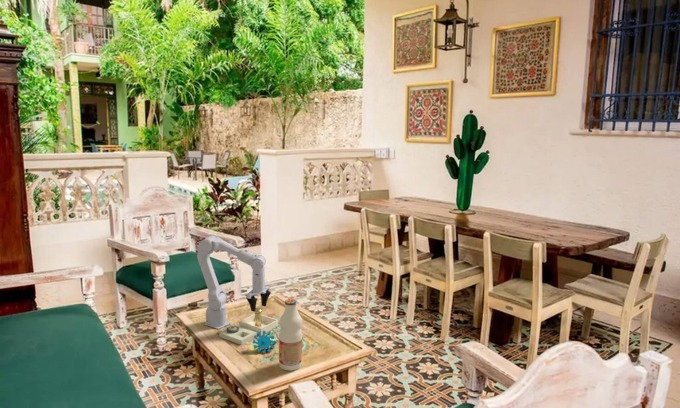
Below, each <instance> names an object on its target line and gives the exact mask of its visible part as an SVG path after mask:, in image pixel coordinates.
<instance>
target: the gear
mask: <svg viewBox="0 0 680 408" xmlns="http://www.w3.org/2000/svg"><path fill="white" fill-rule="evenodd" d="M265 333H266V331H263V335H262V336H261V335H260V334H261V332H258V333H257V335H255V336H254V338H253V339H252V344H254V345H253V349H257V350H256V351H257V353H260V352H261V351H262V352H261V353H262V354H266V352H267V353H271V349H272V350H273V349H275V345H276V344H278V343H279V339H276V340H275V336H274V335H272V336H271V334H272V333H271V331H269V332H267V333H266V335H265ZM270 347H271V348H270ZM262 349H263V350H262ZM266 349H267V351H266Z"/></svg>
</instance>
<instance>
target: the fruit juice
mask: <svg viewBox="0 0 680 408" xmlns="http://www.w3.org/2000/svg"><path fill="white" fill-rule="evenodd" d="M297 305H298V299H295V298H287V299H285V300H284V306H285V308H284V311H283V313H282V315H280V318H279V327H280V330H279V333H278V334H279V335H278V364H279V368H280V369H281V370H284V371H296V370H298V369H300V368H301V367H302V364H303V330H302V325H303V319H302V316H301V315H300V313H299V311H298V307H297Z"/></svg>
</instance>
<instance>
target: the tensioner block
mask: <svg viewBox="0 0 680 408" xmlns="http://www.w3.org/2000/svg"><path fill="white" fill-rule="evenodd" d="M218 334H219V336H218V337H219V338H222V339H225V340H226V341H227V340H228V341H230V342H233V343H235V344H238V345H241V346H243V345H244V344H246V343H248V342H250V341H253V340H254V339H255V338H254V336H255V335H257V336H258V334H257V332H254V331H251V330H248V329H245V328H242V327H239V325H236V324H235V325H232V326H231V325H230V326H228V327H226V329H224V330H222V331H220V332H218Z"/></svg>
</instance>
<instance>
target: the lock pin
mask: <svg viewBox="0 0 680 408" xmlns="http://www.w3.org/2000/svg"><path fill="white" fill-rule="evenodd" d="M253 312H254V314H255V326H257V327H260V328H261V315H262V312H263V308H261V307H256V310H255V311H253Z"/></svg>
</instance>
